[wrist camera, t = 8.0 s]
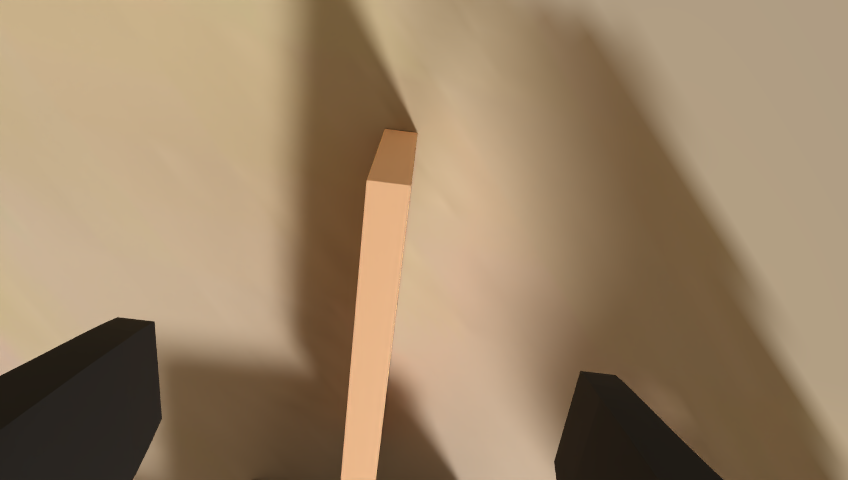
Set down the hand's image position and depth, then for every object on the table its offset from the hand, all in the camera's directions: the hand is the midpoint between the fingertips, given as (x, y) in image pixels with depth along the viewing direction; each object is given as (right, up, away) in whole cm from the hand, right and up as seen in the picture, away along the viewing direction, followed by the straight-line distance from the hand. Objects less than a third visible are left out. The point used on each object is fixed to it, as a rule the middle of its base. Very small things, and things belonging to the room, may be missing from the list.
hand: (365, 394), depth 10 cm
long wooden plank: (0, +1, +10) cm, 10 cm away
